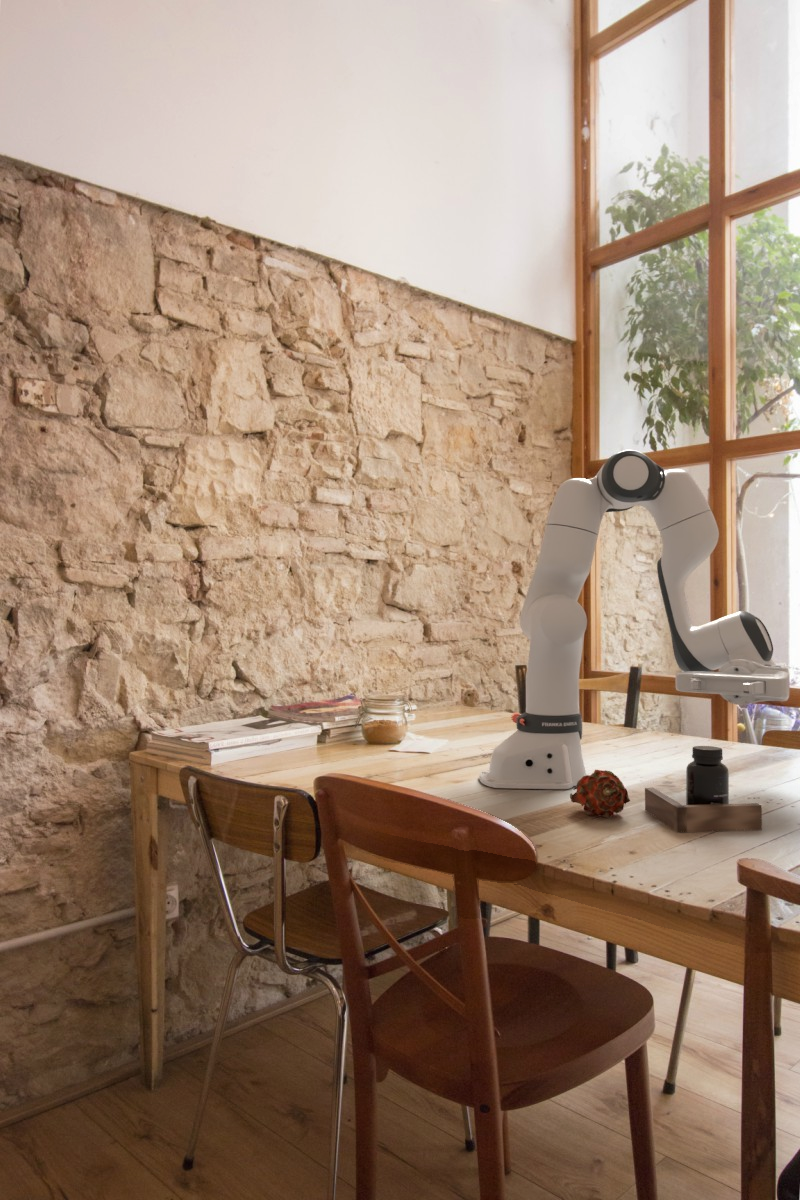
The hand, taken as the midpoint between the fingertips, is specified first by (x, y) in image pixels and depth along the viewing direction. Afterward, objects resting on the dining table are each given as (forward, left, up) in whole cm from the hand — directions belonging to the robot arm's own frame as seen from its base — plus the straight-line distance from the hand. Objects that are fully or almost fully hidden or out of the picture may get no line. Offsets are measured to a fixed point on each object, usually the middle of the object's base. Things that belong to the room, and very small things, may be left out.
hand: (720, 687), depth 156 cm
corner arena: (-8, -9, -22) cm, 25 cm away
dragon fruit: (-24, -3, -22) cm, 32 cm away
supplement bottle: (-7, -10, -21) cm, 25 cm away
